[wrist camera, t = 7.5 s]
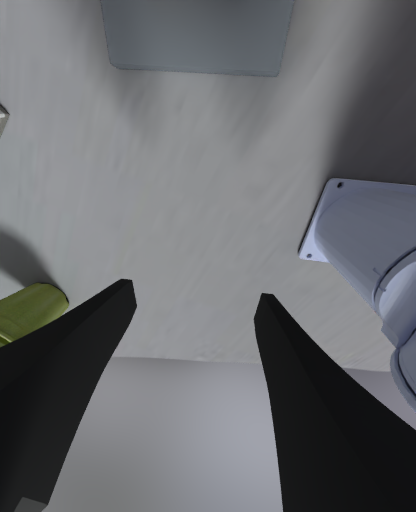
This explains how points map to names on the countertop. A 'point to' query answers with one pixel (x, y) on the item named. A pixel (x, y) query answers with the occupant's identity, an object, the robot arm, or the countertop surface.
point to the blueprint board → (198, 35)
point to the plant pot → (29, 311)
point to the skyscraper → (3, 119)
